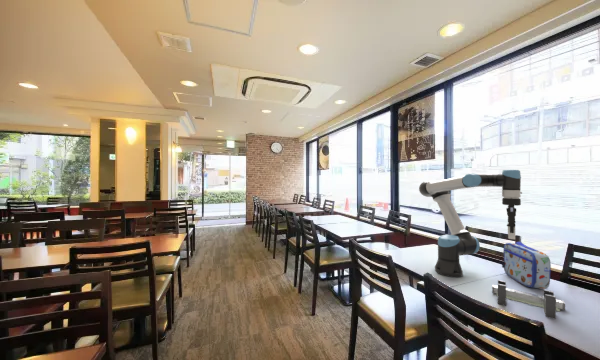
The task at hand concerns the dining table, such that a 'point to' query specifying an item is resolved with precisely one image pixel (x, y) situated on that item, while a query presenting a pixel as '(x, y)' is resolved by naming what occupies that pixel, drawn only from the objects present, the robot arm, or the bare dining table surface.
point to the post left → (502, 292)
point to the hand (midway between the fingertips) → (511, 236)
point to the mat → (528, 302)
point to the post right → (549, 304)
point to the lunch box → (527, 265)
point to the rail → (528, 297)
